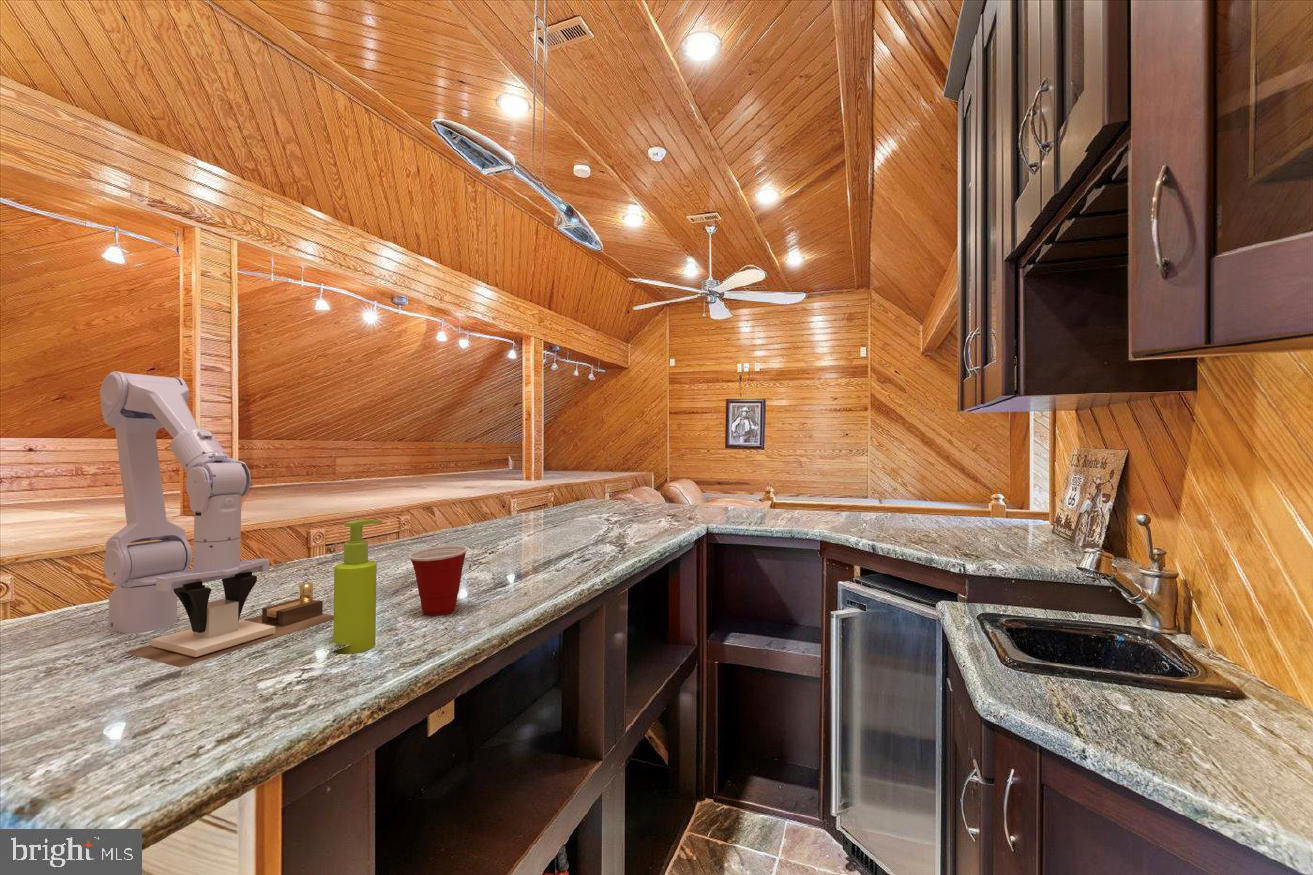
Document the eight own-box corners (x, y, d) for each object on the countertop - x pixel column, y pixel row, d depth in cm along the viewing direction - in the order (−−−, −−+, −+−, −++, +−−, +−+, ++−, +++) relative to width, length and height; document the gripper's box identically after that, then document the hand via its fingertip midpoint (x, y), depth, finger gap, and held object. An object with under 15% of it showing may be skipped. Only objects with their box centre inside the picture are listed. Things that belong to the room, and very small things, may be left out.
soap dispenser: (389, 642, 88) (390, 519, 89) (349, 656, 82) (351, 524, 82) (364, 636, 91) (366, 517, 91) (324, 650, 85) (326, 522, 85)
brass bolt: (266, 616, 92) (267, 591, 93) (307, 605, 99) (307, 582, 99) (276, 618, 92) (276, 593, 92) (316, 606, 98) (316, 583, 98)
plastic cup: (397, 611, 105) (398, 549, 105) (452, 600, 112) (452, 542, 113) (421, 624, 97) (422, 557, 97) (477, 611, 105) (478, 549, 105)
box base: (124, 662, 80) (125, 635, 80) (289, 615, 102) (289, 594, 102) (180, 678, 74) (181, 648, 74) (341, 625, 96) (341, 602, 96)
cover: (151, 645, 81) (152, 609, 81) (232, 623, 92) (233, 591, 92) (195, 657, 77) (196, 618, 77) (275, 632, 87) (275, 598, 87)
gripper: (177, 549, 76) (174, 646, 76) (282, 534, 90) (280, 616, 90) (148, 545, 79) (146, 639, 79) (254, 531, 92) (253, 611, 92)
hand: (215, 626), depth 84 cm, fingers closed on cover, 4 cm apart
